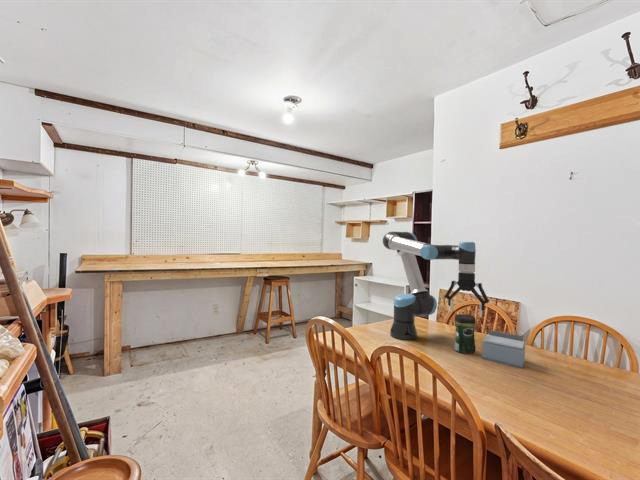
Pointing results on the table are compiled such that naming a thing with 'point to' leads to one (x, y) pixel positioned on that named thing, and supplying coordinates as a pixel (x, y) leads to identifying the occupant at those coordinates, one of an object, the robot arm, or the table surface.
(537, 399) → the table surface
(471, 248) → the robot arm
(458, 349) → the coffee jar
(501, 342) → the lid
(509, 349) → the box
